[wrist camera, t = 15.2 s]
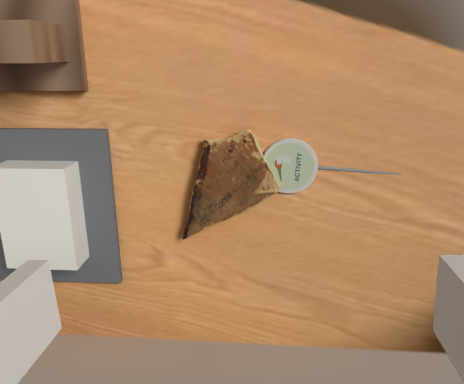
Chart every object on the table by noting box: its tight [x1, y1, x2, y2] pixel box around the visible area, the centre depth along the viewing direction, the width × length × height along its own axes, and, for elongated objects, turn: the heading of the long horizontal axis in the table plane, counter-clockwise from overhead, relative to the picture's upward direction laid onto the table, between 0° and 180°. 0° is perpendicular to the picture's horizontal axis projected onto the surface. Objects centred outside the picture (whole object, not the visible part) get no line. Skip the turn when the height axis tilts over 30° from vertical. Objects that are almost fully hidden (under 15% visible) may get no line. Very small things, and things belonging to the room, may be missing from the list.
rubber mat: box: [0, 128, 122, 283], centre depth 43 cm, size 16×13×1 cm
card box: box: [0, 160, 89, 270], centre depth 41 cm, size 10×7×3 cm
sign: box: [263, 138, 399, 193], centre depth 40 cm, size 5×1×15 cm
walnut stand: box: [0, 0, 88, 91], centre depth 35 cm, size 10×8×7 cm
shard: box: [183, 129, 281, 239], centre depth 40 cm, size 11×8×2 cm
